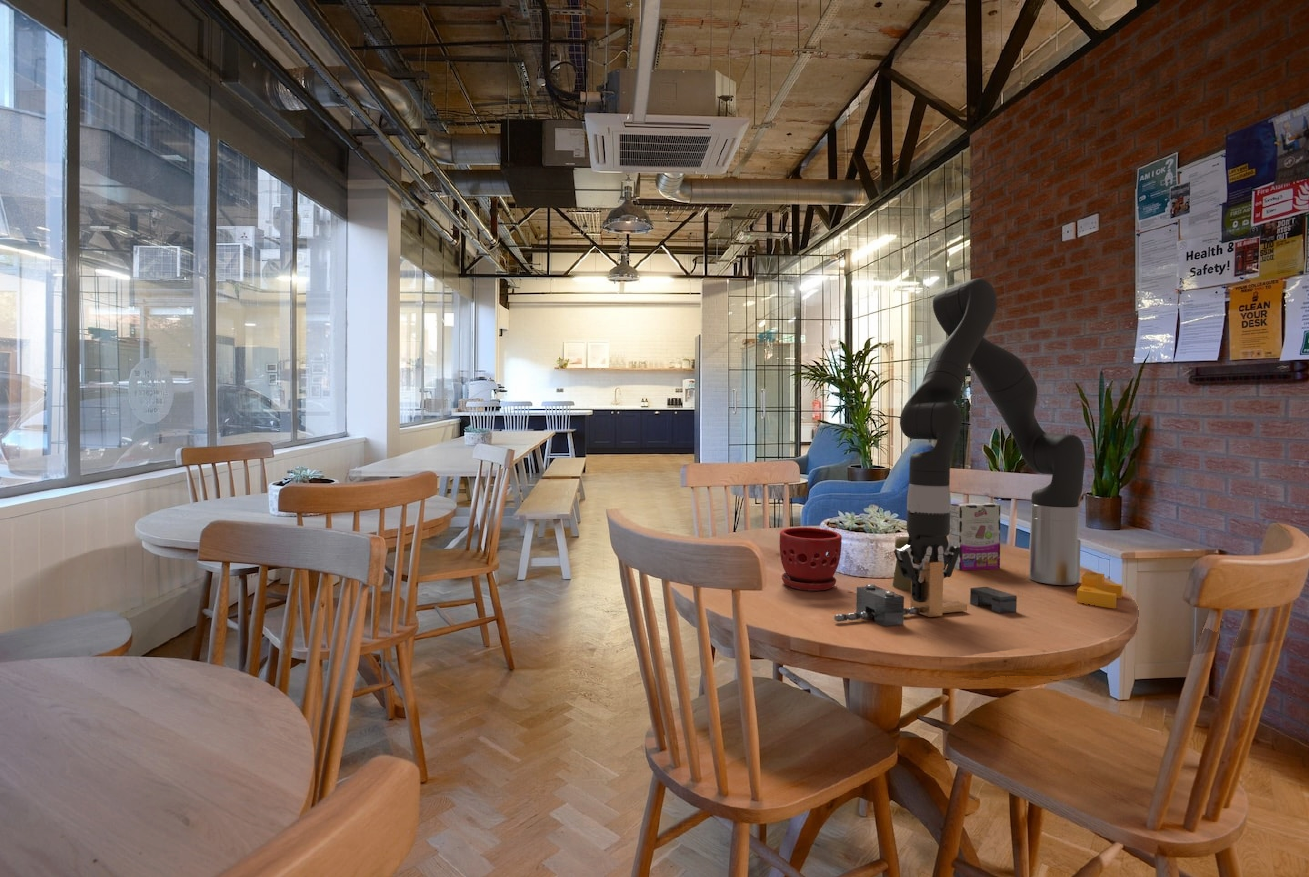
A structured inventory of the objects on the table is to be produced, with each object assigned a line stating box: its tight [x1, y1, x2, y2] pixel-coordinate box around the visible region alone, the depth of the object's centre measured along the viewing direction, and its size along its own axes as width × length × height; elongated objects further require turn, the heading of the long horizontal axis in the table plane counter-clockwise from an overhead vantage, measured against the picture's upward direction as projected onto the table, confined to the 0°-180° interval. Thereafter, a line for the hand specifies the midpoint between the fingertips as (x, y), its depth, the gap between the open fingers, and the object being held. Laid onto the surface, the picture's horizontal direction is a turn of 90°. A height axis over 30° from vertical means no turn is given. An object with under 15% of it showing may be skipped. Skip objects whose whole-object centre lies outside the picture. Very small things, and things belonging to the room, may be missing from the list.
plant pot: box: [779, 526, 842, 592], centre depth 148 cm, size 13×13×12 cm
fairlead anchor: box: [855, 583, 905, 627], centre depth 124 cm, size 4×8×6 cm, turn 19°
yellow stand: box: [1076, 571, 1123, 609], centre depth 140 cm, size 12×4×6 cm
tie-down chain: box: [833, 560, 968, 622], centre depth 126 cm, size 28×5×10 cm, turn 109°
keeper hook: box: [969, 586, 1018, 614], centre depth 133 cm, size 4×7×3 cm, turn 19°
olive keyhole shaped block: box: [892, 536, 912, 592], centre depth 148 cm, size 6×6×11 cm
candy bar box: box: [948, 502, 1001, 571], centre depth 167 cm, size 11×5×16 cm, turn 102°
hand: (926, 600), depth 128 cm, fingers closed on tie-down chain, 3 cm apart
